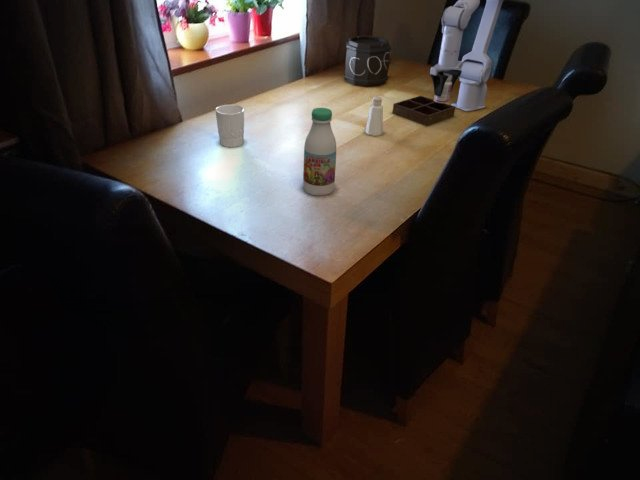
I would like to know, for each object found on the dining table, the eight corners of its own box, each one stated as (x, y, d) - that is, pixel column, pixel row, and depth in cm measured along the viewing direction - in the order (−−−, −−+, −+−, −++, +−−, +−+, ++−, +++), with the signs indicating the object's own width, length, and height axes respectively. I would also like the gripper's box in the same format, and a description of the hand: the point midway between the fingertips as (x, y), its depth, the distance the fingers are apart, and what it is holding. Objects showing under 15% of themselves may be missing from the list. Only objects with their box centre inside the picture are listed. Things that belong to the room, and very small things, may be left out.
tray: (419, 104, 181) (420, 95, 179) (453, 116, 172) (455, 106, 170) (392, 113, 172) (393, 103, 170) (427, 126, 164) (428, 116, 162)
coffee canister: (391, 89, 195) (396, 46, 186) (344, 87, 195) (347, 44, 186) (386, 75, 210) (391, 35, 201) (343, 73, 210) (346, 33, 201)
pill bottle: (448, 104, 161) (453, 77, 156) (433, 102, 162) (438, 76, 157) (448, 99, 165) (453, 73, 160) (433, 98, 165) (438, 72, 161)
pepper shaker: (372, 128, 160) (376, 93, 154) (386, 133, 157) (390, 98, 151) (361, 132, 157) (364, 97, 151) (374, 137, 154) (378, 102, 148)
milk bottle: (302, 181, 128) (303, 104, 117) (332, 181, 129) (337, 104, 117) (304, 196, 122) (305, 116, 110) (335, 196, 122) (340, 116, 111)
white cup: (250, 140, 149) (248, 106, 143) (237, 150, 142) (236, 115, 137) (226, 135, 151) (223, 102, 145) (213, 145, 144) (210, 111, 139)
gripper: (447, 56, 148) (439, 101, 155) (474, 49, 156) (465, 92, 164) (427, 51, 152) (420, 95, 159) (455, 44, 160) (447, 87, 168)
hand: (442, 94), depth 162 cm, fingers closed on pill bottle, 5 cm apart
